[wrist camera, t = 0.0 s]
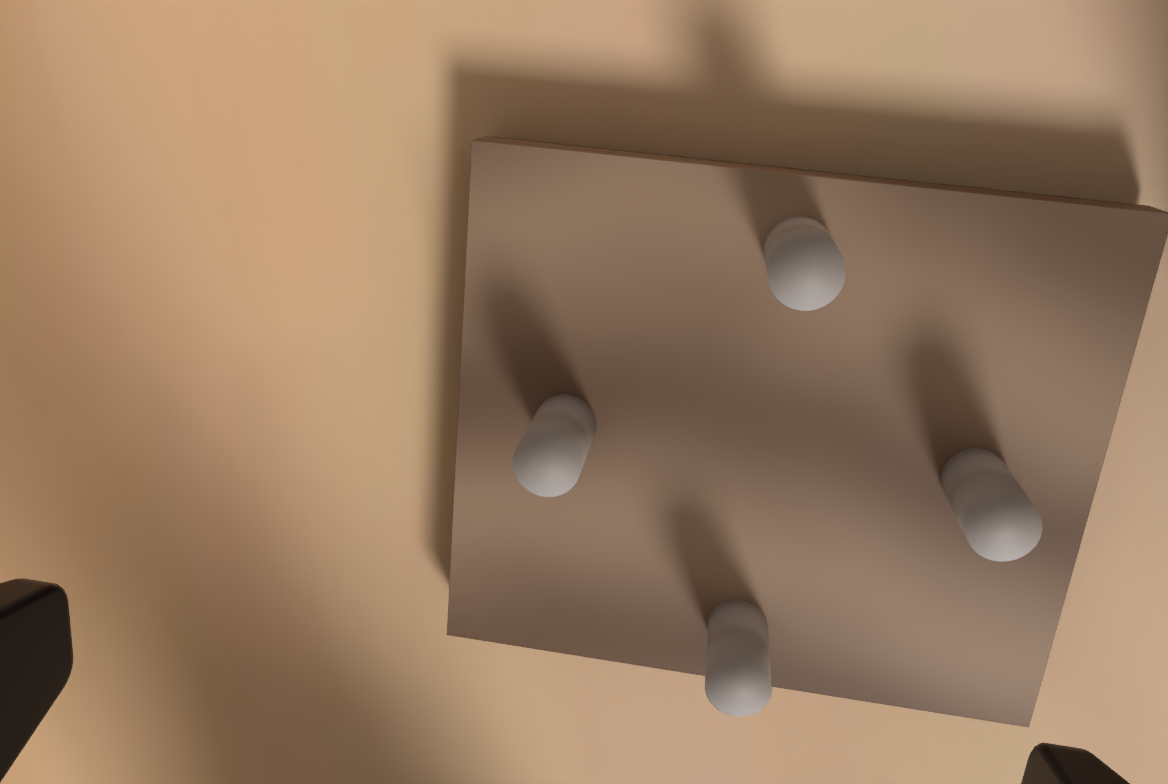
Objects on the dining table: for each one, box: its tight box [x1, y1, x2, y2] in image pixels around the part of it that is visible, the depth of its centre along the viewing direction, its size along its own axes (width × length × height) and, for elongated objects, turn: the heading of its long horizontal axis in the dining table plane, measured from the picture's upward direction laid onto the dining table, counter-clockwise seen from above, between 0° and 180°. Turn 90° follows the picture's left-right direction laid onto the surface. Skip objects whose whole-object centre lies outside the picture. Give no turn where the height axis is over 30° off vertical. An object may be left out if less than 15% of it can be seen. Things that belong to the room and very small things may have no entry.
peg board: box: [447, 137, 1168, 727], centre depth 21 cm, size 12×14×4 cm
